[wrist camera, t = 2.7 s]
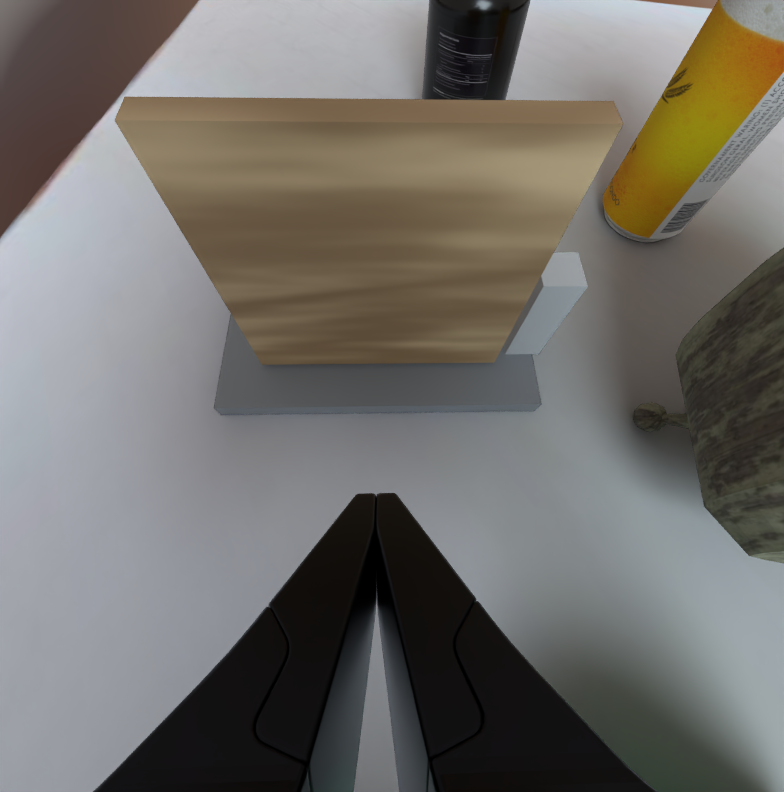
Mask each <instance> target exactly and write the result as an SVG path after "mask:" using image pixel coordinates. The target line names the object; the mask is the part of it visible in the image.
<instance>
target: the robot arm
mask: <svg viewBox="0 0 784 792" xmlns="http://www.w3.org/2000/svg"><path fill="white" fill-rule="evenodd" d="M376 597H377V606H378V617H379V625H380V634H381V642H382V650H383V659H384V667H385V675H386V684H387V692H388V700H389V709H390V717H391V725H392V734H393V742H394V751H395V759H396V767H397V776H398V784H399V792H657V791H656V790H655V789H653V788H652V787H651V786H650V785H648V784H647V783H646V782H645V781H644V780H643V779H641V778H640V777H639V776H638V775H637V774H636V773H635V772H634V771H633V770H631V769H630V768H629V767H628V766H627V765H626V764H625V763H624V762H623V761H622V760H621V759H620V758H619V757H618V756H617V755H616V754H615V753H614V752H613V751H612V750H611V749H610V748H609V747H608V746H607V744H606V743H605V742H604V741H603V740H602V739H601V738H600V737H599V736H598V735H597V734H596V733H595V732H594V731H593V730H592V729H591V728H590V727H589V725H588V724H587V723H586V722H585V721H584V720H583V719H582V718H581V717H580V716H579V715H578V714H577V713H576V712H575V711H574V710H573V709H572V708H571V707H570V705H569V704H568V703H567V702H566V701H565V700H564V699H563V698H562V697H561V696H560V695H559V694H558V693H557V692H556V691H555V690H554V689H553V688H552V687H551V685H550V684H549V683H548V682H547V681H546V680H545V679H544V678H543V677H542V676H541V675H540V674H539V673H538V672H537V671H536V670H535V668H534V667H533V666H532V665H531V664H530V663H529V662H528V661H527V660H526V659H525V657H524V656H523V655H522V654H521V653H520V652H519V651H518V650H517V649H516V648H515V646H514V645H513V644H512V643H511V642H510V641H509V639H508V638H507V637H506V636H505V634H504V633H503V632H502V631H501V630H500V628H499V627H498V626H497V625H496V623H495V622H494V621H493V620H492V618H491V617H490V616H489V615H488V613H487V612H486V611H485V609H484V608H483V607H482V605H481V604H480V603H479V602H478V601H476V598H475V596H474V595H473V594H472V593H471V591H470V590H469V589H468V587H467V586H466V585H465V583H464V582H463V581H462V579H461V578H460V577H459V576H458V574H457V573H456V572H455V570H454V569H453V568H452V566H451V565H450V564H449V562H448V561H447V560H446V559H445V557H444V556H443V555H442V553H441V552H440V551H439V549H438V548H437V547H436V545H435V544H434V543H433V542H432V540H431V539H430V538H429V536H428V535H427V534H426V532H425V531H424V530H423V529H422V527H421V526H420V525H419V523H418V522H417V521H416V519H415V518H414V517H413V515H412V514H411V513H410V512H409V510H408V509H407V508H406V506H405V505H404V504H403V502H402V501H401V500H400V498H399V497H398V496H397V495H396V494H395V493H379V494H377V496H376V495H375V494H373V493H369V494H357V495H356V496H355V497H354V498H353V499H352V501H351V502H350V503H349V504H348V506H347V507H346V508H345V509H344V511H343V512H342V513H341V514H340V516H339V517H338V518H337V519H336V521H335V522H334V523H333V524H332V526H331V527H330V528H329V529H328V531H327V532H326V533H325V534H324V536H323V537H322V538H321V539H320V541H319V542H318V543H317V544H316V546H315V547H314V548H313V549H312V551H311V552H310V553H309V554H308V556H307V557H306V558H305V559H304V561H303V562H302V563H301V564H300V566H299V567H298V568H297V569H296V571H295V572H294V573H293V574H292V576H291V577H290V578H289V579H288V581H287V582H286V583H285V584H284V586H283V587H282V588H281V589H280V591H279V592H278V593H277V594H276V596H275V597H274V598H273V599H272V601H271V602H270V603H269V607H266V608H265V609H264V610H263V611H262V613H261V614H260V615H259V617H258V618H257V619H256V620H255V622H254V623H253V624H252V625H251V626H250V628H249V629H248V630H247V631H246V632H245V633H244V635H243V636H242V637H241V638H240V639H239V641H238V642H237V643H236V644H235V645H234V646H233V648H232V649H231V650H230V651H229V652H228V653H227V654H226V656H225V657H224V658H223V659H222V660H221V661H220V662H219V663H218V664H217V665H216V666H215V667H214V668H213V669H212V671H211V672H210V673H209V674H208V675H207V676H206V677H205V678H204V679H203V680H202V681H201V682H200V683H199V684H198V686H197V687H196V688H195V689H194V690H193V691H192V692H191V693H190V694H189V695H188V696H187V697H186V698H185V699H184V700H183V701H182V702H181V703H180V704H179V705H178V706H177V707H176V708H175V709H174V710H173V711H172V712H171V713H170V714H169V715H168V716H167V717H166V718H165V720H164V721H163V722H162V723H161V724H160V725H159V726H158V727H157V728H156V729H155V730H154V731H153V732H152V733H151V734H150V735H149V736H148V737H147V738H146V739H145V740H144V741H143V742H142V743H141V744H140V745H139V746H138V747H137V748H136V749H135V750H134V751H133V753H132V754H131V755H130V756H129V757H128V758H127V759H126V760H125V761H124V762H123V763H122V764H121V765H120V766H119V767H118V768H117V769H116V770H115V771H114V772H113V773H112V774H111V775H110V776H109V777H108V778H107V779H106V780H105V781H104V782H103V783H102V784H101V785H100V786H99V787H98V788H96V789H95V790H94V791H93V792H354V784H355V775H356V767H357V759H358V751H359V743H360V735H361V727H362V718H363V710H364V702H365V694H366V686H367V678H368V670H369V662H370V653H371V645H372V637H373V629H374V621H375V612H376Z"/></svg>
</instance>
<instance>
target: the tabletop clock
mask: <svg viewBox="0 0 784 792" xmlns="http://www.w3.org/2000/svg"><path fill="white" fill-rule="evenodd" d="M676 360H677V365H678V370H679V376H680V381H681V386H682V392H683V397H684V402H685V407H686V413H687V414H667V412H666V411H665V409H664V407H662V406H660V405H658V404H656V403H653V402H651V403H646V404H641V405H640V406H639V407H638V408H637V409H636V410H635V411H634V415H633V420H634V421H635V423H636V425H637V427H639V428H641V429H643V430H645V431H648V432H650V431H656V430H660V429H661V428H663V426H664V425H665V424H670V425H675V426H679V427H684V428H689V429H690V434H691V439H692V445H693V450H694V455H695V461H696V466H697V471H698V476H699V482H700V487H701V492H702V498H703V503H704V507H705V508H706V509H707V510H708V511H709V512H710V513H711V515H712V516H713V517H714V518H715V519H716V520H717V521H718V522H719V523H720V524H721V526H722V527H723V528H724V529H725V530H726V531H727V532H728V533H729V534H730V535H731V537H732V538H733V539H734V540H735V541H736V542H737V543H738V544H739V545H740V546H741V548H742V549H743V550H744V551H745V552H746V553H747V554H748V555H749V556H752V557H756V558H760V559H764V560H769V561H774V562H780V563H784V248H783V249H781V250H780V251H779V252H777V253H776V254H774V255H773V256H772V257H770V258H769V259H768V260H766V261H765V262H764V263H763V264H762V265H760V266H759V267H758V268H757V269H756V270H755V271H754V272H753V273H751V274H750V275H749V276H748V277H747V278H746V279H745V280H744V281H742V282H741V283H740V284H739V285H738V286H737V287H736V288H735V289H733V290H732V291H731V292H730V293H729V294H728V295H727V296H726V297H724V298H723V299H722V300H721V301H720V302H719V303H718V304H717V305H715V306H714V307H713V308H712V309H711V310H710V311H709V312H708V313H706V314H705V315H704V316H703V317H702V318H701V319H700V320H699V322H698V323H697V324H696V325H695V326H694V327H693V328H692V329H691V330H690V332H689V333H688V334H687V335H686V336H685V337H684V339H683V340H682V342H681V345H680V347H679V349H678V351H677V353H676Z"/></svg>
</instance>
